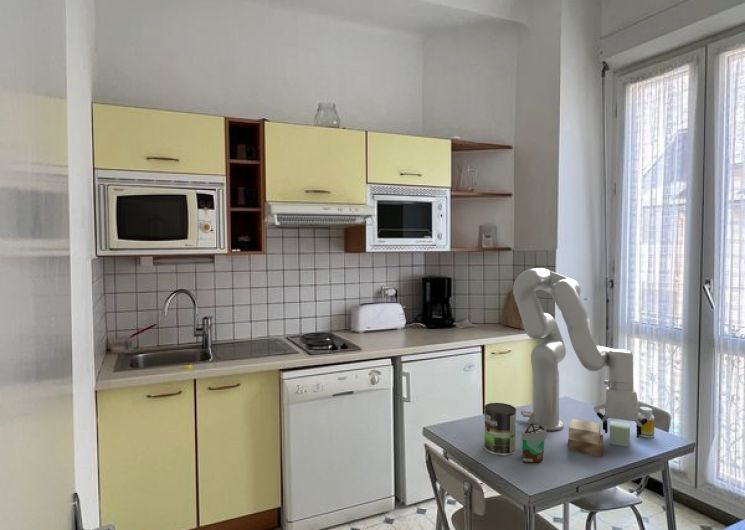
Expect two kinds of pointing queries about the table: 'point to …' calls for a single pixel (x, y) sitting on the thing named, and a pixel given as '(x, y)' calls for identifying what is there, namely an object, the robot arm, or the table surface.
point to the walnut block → (586, 447)
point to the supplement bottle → (647, 424)
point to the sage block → (620, 433)
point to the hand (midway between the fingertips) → (621, 434)
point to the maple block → (584, 431)
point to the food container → (533, 443)
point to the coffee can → (500, 429)
